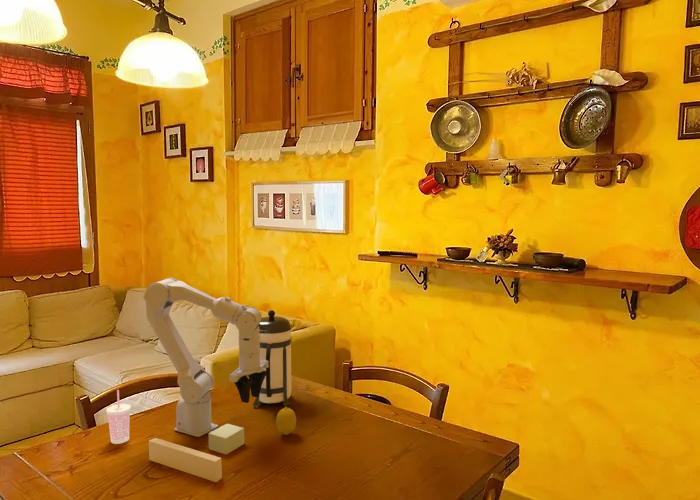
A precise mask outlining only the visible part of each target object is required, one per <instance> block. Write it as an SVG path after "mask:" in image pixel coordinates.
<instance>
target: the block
mask: <svg viewBox="0 0 700 500" xmlns="http://www.w3.org/2000/svg"><path fill="white" fill-rule="evenodd" d="M207 434H208V450H211V451H214V452H217V453H220V454H223V455H228V454H230V453H231V452H233V451H235V450H236V449H238V448H239V447H242V445H245V428H244V427H241V426H237V425H234V424H231V423H225V424H224V425H221V426H220V427H219V426H218V427H217V428H215V429H213V430H211V431H209V432H207Z"/></svg>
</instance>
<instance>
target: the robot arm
mask: <svg viewBox="0 0 700 500" xmlns="http://www.w3.org/2000/svg"><path fill="white" fill-rule="evenodd" d="M142 298H143V300H144V301H145V306H146V309H145V310H146V319H147V321H148V322H149V324H150V326H151V328H152V329H153V331H154V332H155V335H156V338H158V340H159V342H160V344H161V345H162V346H163V349H164V351H165V352H166V354H167V356H168V357H169V359H170V361H171V362H172V364H173V366H174V368H175V371H176V372H177V380H176V381H177V385H178V387H179V391H180V396H181V397H180V398H179V399H178V400H177V401H178V402H177V403H176V405H175V406H176V407H175V414H176V415H175V417H176V419H175V420H176V421H175V422H176V427H174V431H176V432H179V433H182V434H186V435H190V436H193V437H196V438H201V437H202V436H203V435H204V436H205V434H208V433H210V432H212V431H214V430H216V429H217V428H219V425H218V424H216V423H213V422H212V401H211V400H212V399H211V397H212V395H211V393H210V390H211V389H212V388H213V386H214V378H213V376H212V375H211V373H209V372H207V371H206V369H205V368H204V366H203V365H201V364H200V363H198V362H196V360H195V358H194V357H193V355H192V353H191V352H190V350H189V348H188V346H187V344H186V343H185V341H184V339H183V337H182V335H181V334H180V332H179V331H178V329H177V327H176V325H175V323H174V322H173V320H172V318H171V316H170V312H171V309H172V306H173V304H174V303H175V302H179V301H186V302H189V303H192V304H195V305H197V306H199V307H202V308H205V309H208V310H210V311H211V314H212V315H213V317H215V318H218V319H220V320H222V321H224V322H226V323H230V324H231V325H233V326H235V328H237V330H238V362H239V363H238V368H236V369H235V370H234V371H233V372H232V373H229V382H231V383H233V384H235V386H236V389H237V391H238V393H239V397H240V400H241V403H246V404H248V403H249V402H250V396H251V397H253V398H255V397H257V398H258V397H259V394H260V390H261V386H262V383H263V381H264V378H265V377H266V375H267V372H266V371H263V368H268V367H269V365H268V361H266V360H262V361H260V335H259V326H258V325H259V324H260V322H261V318H263V317H262V313H261V312H260V310H259V309H257V308H256V307H254V306H248V307H247V305H246V304H245V303H243V304H240V303H237V302H235V301H233V300H232V298H231V297H229V296H225V297H224V296H222V297H221V296H220V297H218V298H216V297H213V296H211V295H209V294H207V293H205V292H204V291H202V290H199V289H197V288H195V287H193V286H191V285H188V284H187V283H185V282H184V281H182V280H178V279H176V278H174V277H167V278H164V279H163V280H160V281H156V282H151V283H150V284H149V285H148V286H147V288H146V290H145V291H144V295H143V297H142Z"/></svg>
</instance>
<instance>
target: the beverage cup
mask: <svg viewBox="0 0 700 500" xmlns="http://www.w3.org/2000/svg"><path fill="white" fill-rule="evenodd" d="M116 395H117V399H116V400H117V401H116V402H117V404H114V405H110V406H108V407H107V408H106V414H107V418H108V419H107V420H108V426H109V427H108V428H109V435H110V442H111V443H112V444H113V445H117V444H118V445H119V444H120V445H121V444H123V443H126V442H128V441H129V440H130V425H131V424H130V423H131V422H130V421H131V418H130V413H131V411H132V410H131V409H132V405H131V404H129V403H120V390H119V389H117V390H116Z"/></svg>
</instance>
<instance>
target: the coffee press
mask: <svg viewBox="0 0 700 500" xmlns="http://www.w3.org/2000/svg"><path fill="white" fill-rule="evenodd" d="M267 315H268V316H263V317H262V318H261V322H260V324H259V325H258V326H259V335H260V361H262V360H266V361H268V365H269V367H268V368H263V371H266V372H267V375H266V377H265V378H264V381H263V383H262V386H261V390H260V394H259V397H258V398H257V397H254V402H253V404H252V407H253V408H256V409H258V408H259V407H260V406H261V405H262V404H263V403H265V404H277V403H281V404H282V406H283V408H285V407H287V408H290V402H289V398H290V397H292V339H293V338H292V329H293V325H292V324H291V322H290V320H289V319H288V318H286V317H283V316H275V315H276V312H275V311H274V310H273V309H271V310H269V311H268V312H267Z"/></svg>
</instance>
